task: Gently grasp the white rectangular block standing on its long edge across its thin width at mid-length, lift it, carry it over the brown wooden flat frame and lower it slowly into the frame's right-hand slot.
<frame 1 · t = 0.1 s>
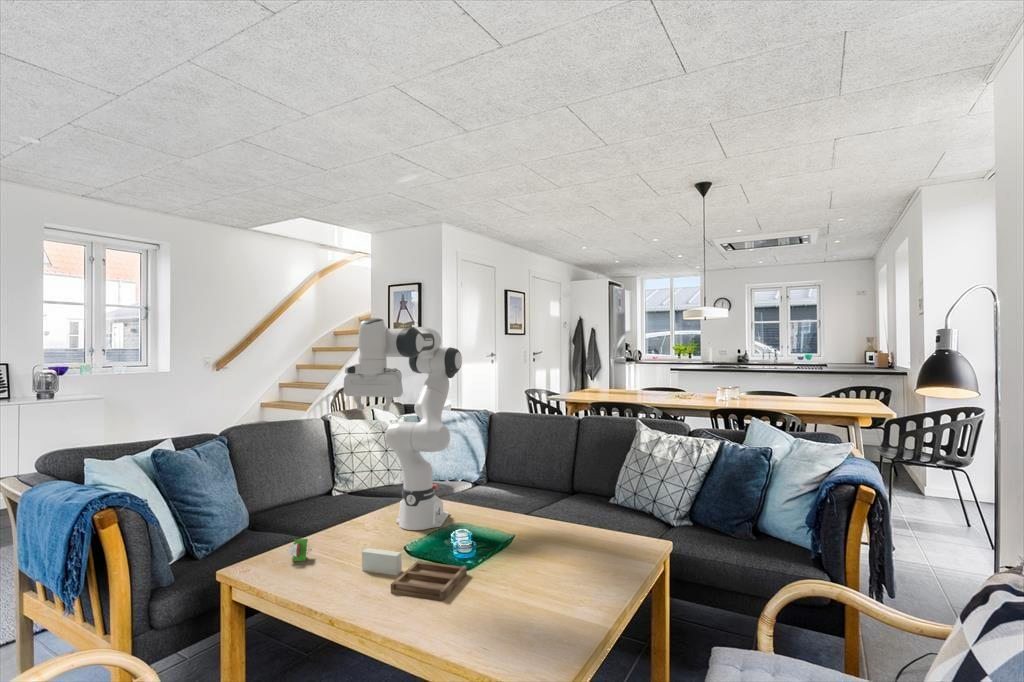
hand: (373, 410, 178), 48 cm above the table, fingers open, 8 cm apart
white rectangular block: (381, 571, 167), on the table
brown wooden flat frame: (430, 583, 159), on the table
geometric puzzle: (300, 560, 176), on the table
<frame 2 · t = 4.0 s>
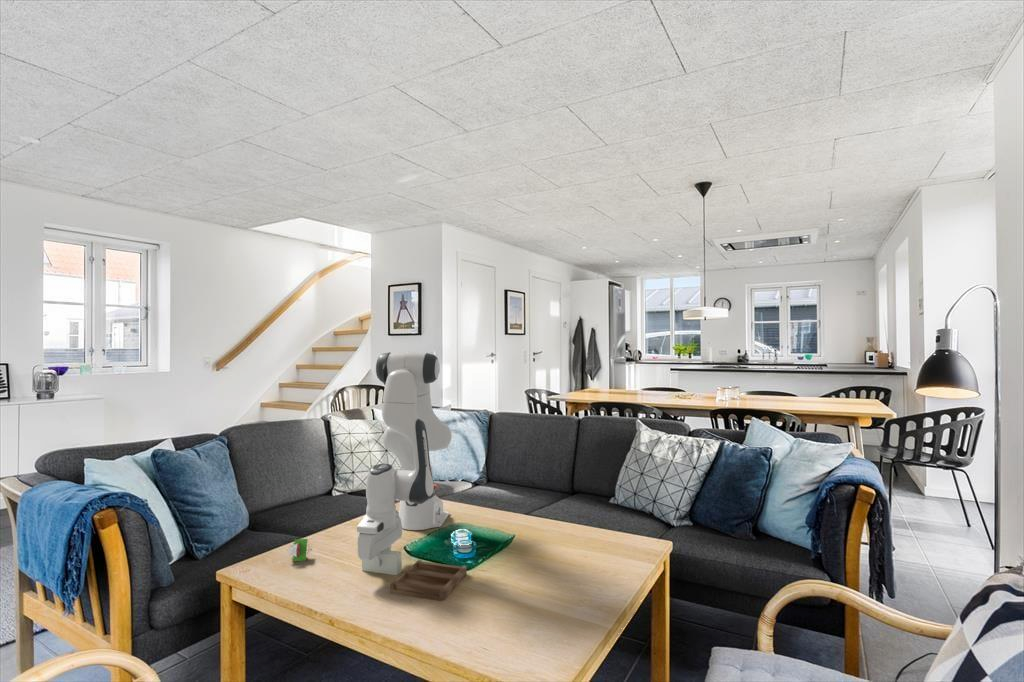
hand: (381, 563, 167), 2 cm above the table, fingers closed on white rectangular block, 3 cm apart
white rectangular block: (381, 570, 167), on the table, touching gripper
everything else where it was.
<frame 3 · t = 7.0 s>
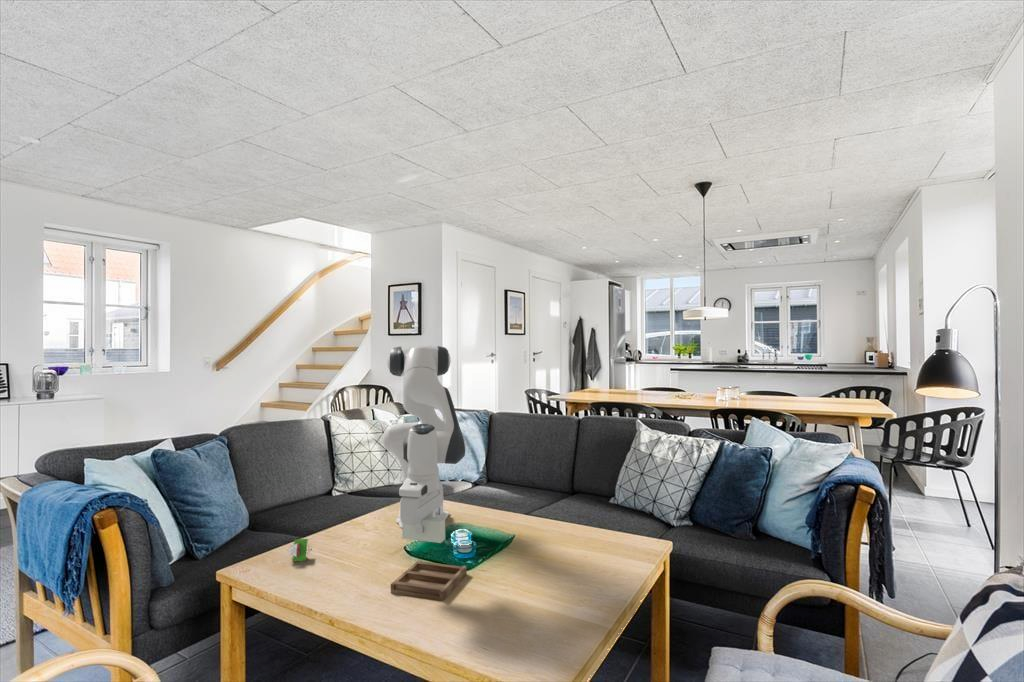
hand: (423, 530, 155), 17 cm above the table, fingers closed on white rectangular block, 3 cm apart
white rectangular block: (423, 538, 155), point 14 cm above the table, touching gripper
everything else where it was.
when the fingers open (5 cm above the table, at t = 9.9 s): white rectangular block drops 1 cm, resting on brown wooden flat frame.
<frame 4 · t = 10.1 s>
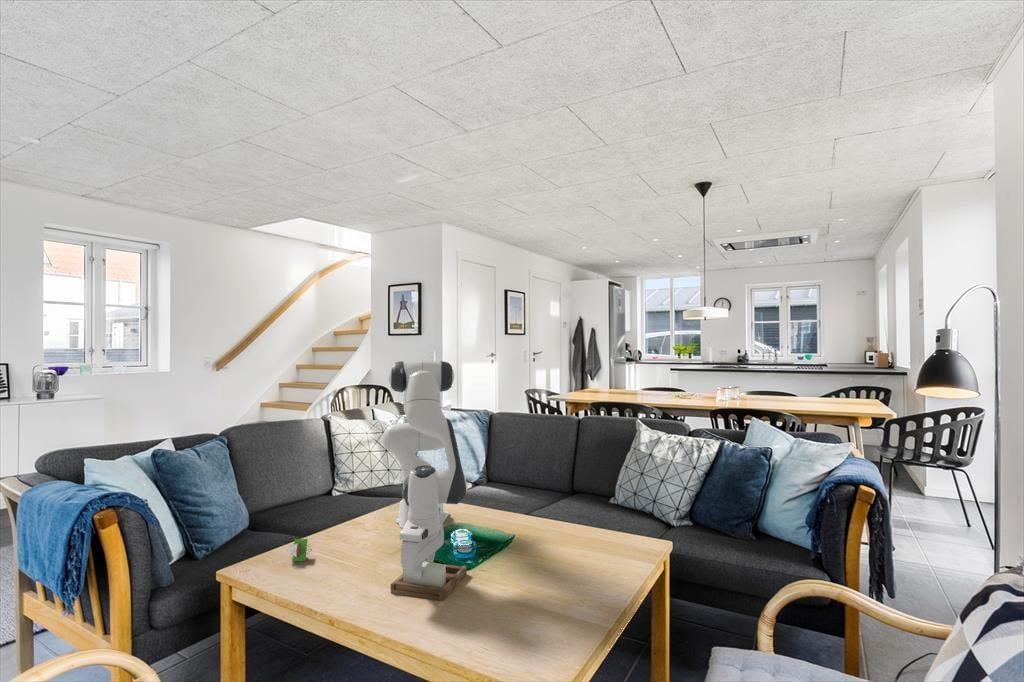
hand: (424, 572, 155), 5 cm above the table, fingers open, 5 cm apart
white rectangular block: (424, 585, 155), point 1 cm above the table, touching brown wooden flat frame
everything else where it was.
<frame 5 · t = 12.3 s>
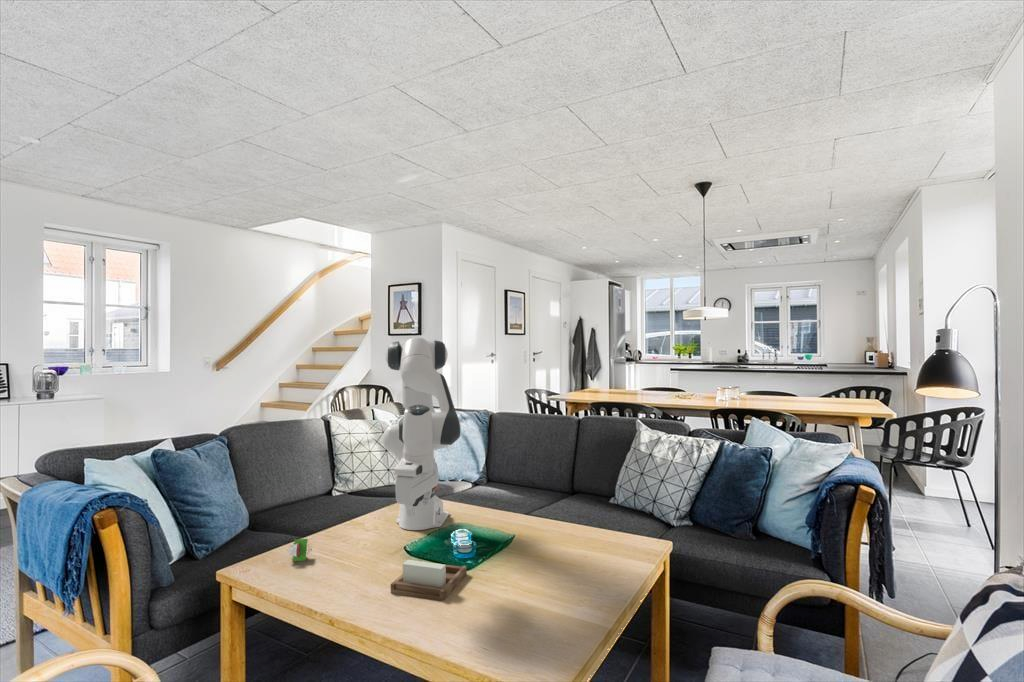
hand: (418, 509, 158), 22 cm above the table, fingers open, 8 cm apart
nothing on the table moved.
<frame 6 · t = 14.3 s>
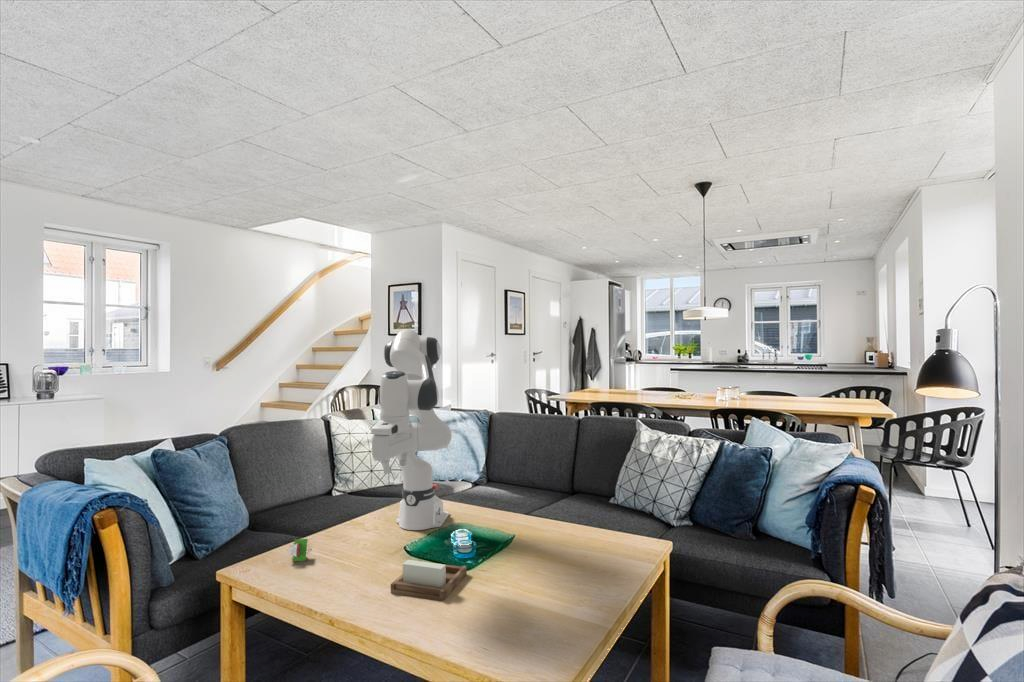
hand: (395, 469, 168), 31 cm above the table, fingers open, 8 cm apart
nothing on the table moved.
at the end: white rectangular block inside the target area on the brown wooden flat frame (0.1 cm from its centre), point 1.0 cm above the brown wooden flat frame's base; white rectangular block tilted 0°; the gripper is holding nothing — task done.
